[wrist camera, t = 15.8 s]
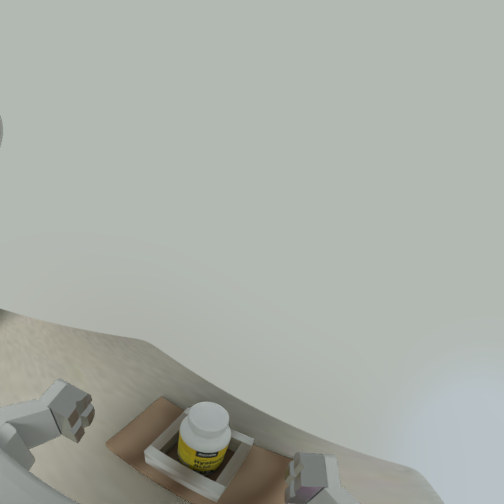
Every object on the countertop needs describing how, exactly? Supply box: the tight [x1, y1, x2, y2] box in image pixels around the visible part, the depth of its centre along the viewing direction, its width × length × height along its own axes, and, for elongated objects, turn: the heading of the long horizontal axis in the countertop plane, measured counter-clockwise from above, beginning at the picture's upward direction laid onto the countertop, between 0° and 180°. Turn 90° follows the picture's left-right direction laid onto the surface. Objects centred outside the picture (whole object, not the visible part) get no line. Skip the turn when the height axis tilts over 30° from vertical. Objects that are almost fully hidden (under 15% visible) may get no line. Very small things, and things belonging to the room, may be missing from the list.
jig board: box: [106, 397, 294, 504], centre depth 25 cm, size 22×12×4 cm, turn 67°
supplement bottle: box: [177, 402, 231, 476], centre depth 25 cm, size 5×5×10 cm
